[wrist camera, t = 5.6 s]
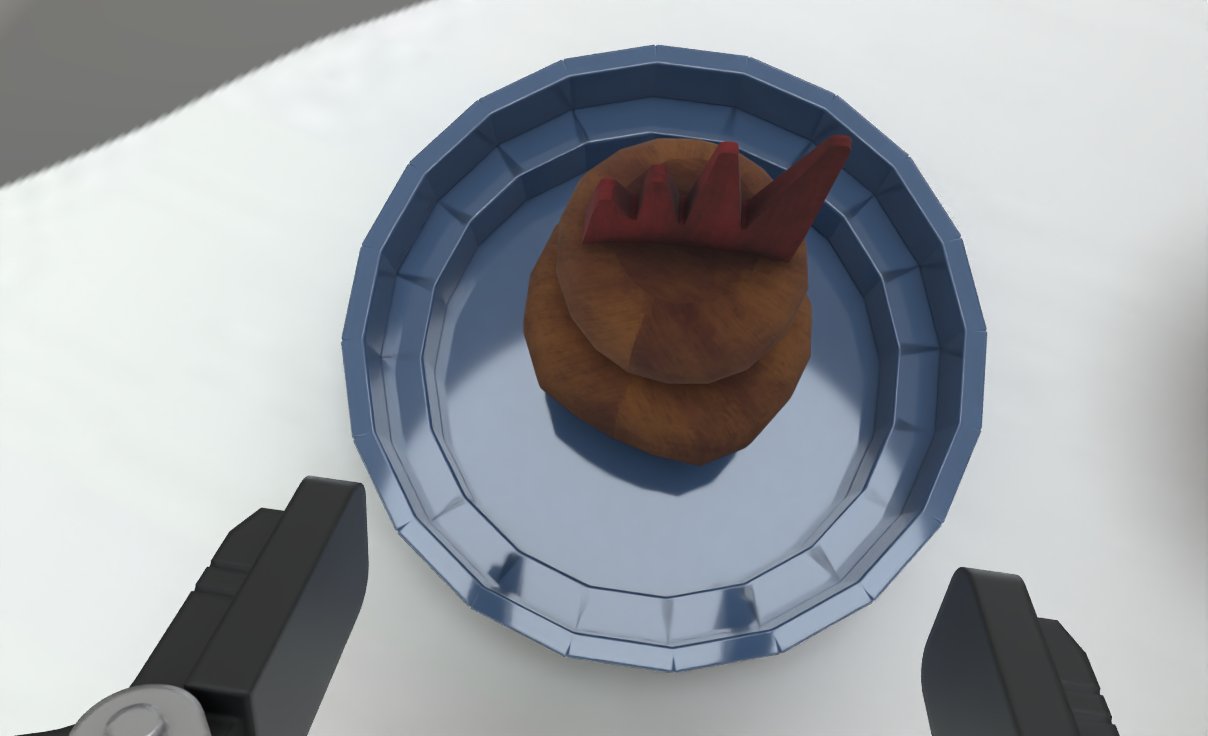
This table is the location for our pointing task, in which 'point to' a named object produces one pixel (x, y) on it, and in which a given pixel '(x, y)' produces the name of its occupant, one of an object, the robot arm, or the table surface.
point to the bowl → (621, 472)
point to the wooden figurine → (679, 294)
